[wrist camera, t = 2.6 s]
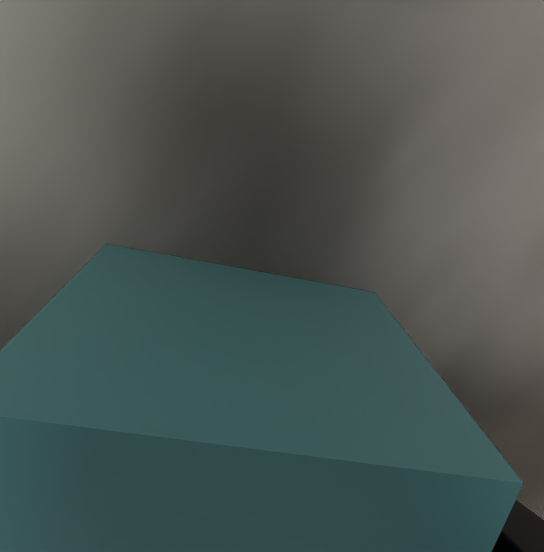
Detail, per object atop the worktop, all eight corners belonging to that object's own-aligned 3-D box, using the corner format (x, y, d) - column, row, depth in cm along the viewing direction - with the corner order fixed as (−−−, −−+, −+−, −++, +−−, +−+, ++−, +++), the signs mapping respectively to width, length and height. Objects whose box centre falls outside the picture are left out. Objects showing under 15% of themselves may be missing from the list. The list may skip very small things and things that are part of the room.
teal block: (372, 291, 9) (524, 482, 4) (312, 494, 11) (374, 802, 6) (107, 242, 8) (-59, 408, 4) (83, 468, 10) (-57, 793, 5)
